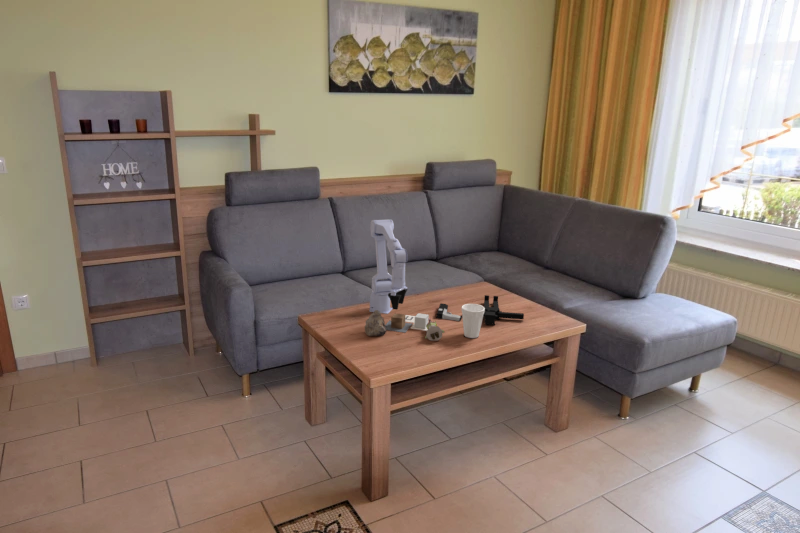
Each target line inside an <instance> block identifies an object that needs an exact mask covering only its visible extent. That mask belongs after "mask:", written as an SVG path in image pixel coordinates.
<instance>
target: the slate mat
mask: <svg viewBox="0 0 800 533" xmlns="http://www.w3.org/2000/svg"><path fill="white" fill-rule="evenodd" d="M412 325H413V323H412V322H405V326H404V327H403V328H402V329H397V328H391V320H388V321H387V323H385V326H386V327H385V328H386V331H390V332H398V333H404V334H406V333H407V332H408V330H409V329H411V327H412Z"/></svg>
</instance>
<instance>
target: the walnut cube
mask: <svg viewBox="0 0 800 533" xmlns="http://www.w3.org/2000/svg"><path fill="white" fill-rule="evenodd" d="M405 315H406V314H402V313H396V312H395V313H393V315H391V328H397V329H402V328H403V327H404V326H405V323H406V322H405Z"/></svg>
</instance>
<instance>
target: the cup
mask: <svg viewBox="0 0 800 533" xmlns="http://www.w3.org/2000/svg"><path fill="white" fill-rule="evenodd" d="M484 311H485V308H484V306H483V305H481V304H477V303H465V304H463V305H462V306H461V313H462V315H461V316H462V325H463V326H462V328H463V335H464V336H465V337H466V338H469V339H476V338H478V337H479V336H480V331H481V327H482V324H483V319H484V317H483V315H484Z"/></svg>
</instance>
